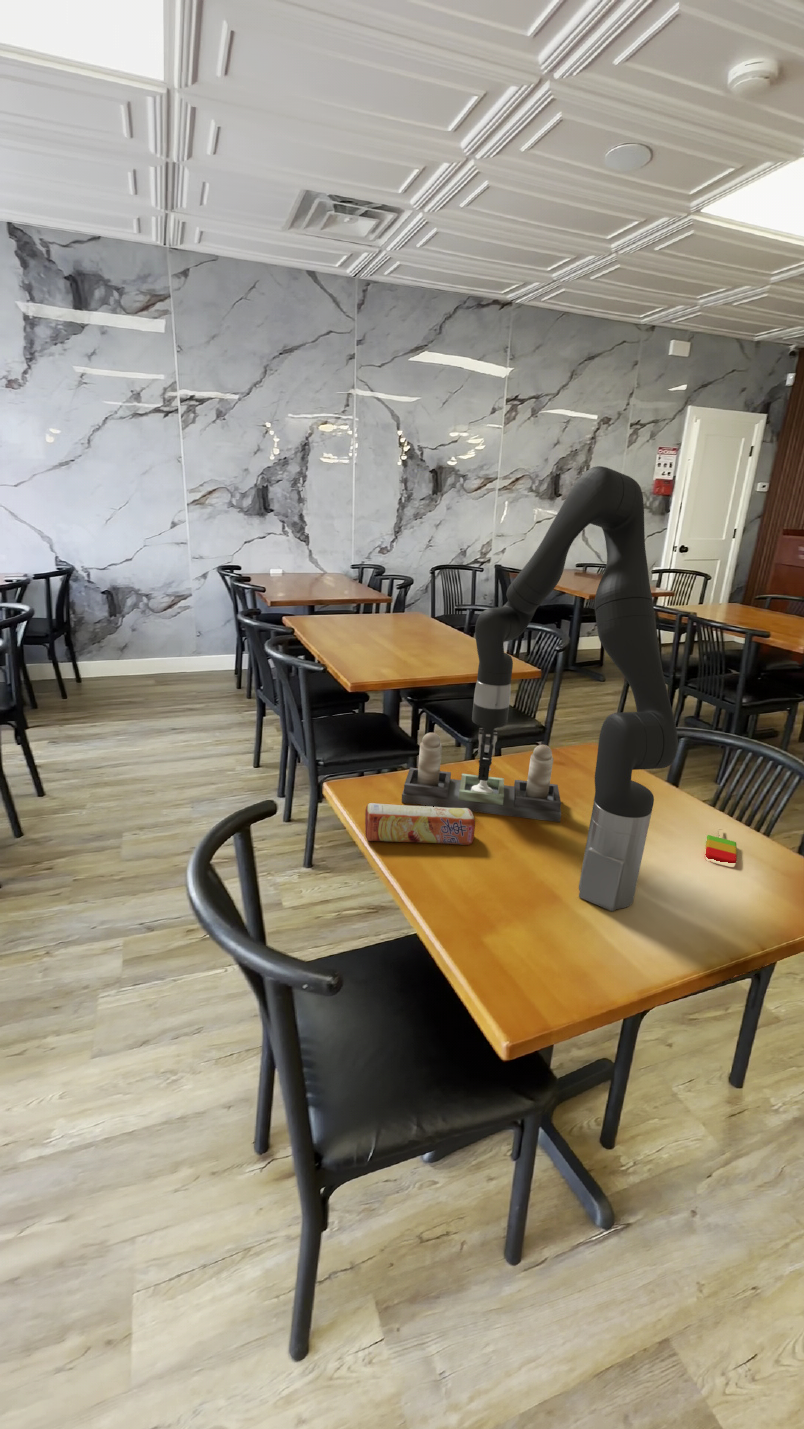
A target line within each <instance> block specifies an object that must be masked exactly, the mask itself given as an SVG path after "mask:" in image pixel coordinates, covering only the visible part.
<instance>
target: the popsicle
mask: <svg viewBox="0 0 804 1429" xmlns="http://www.w3.org/2000/svg"><path fill="white" fill-rule="evenodd" d="M719 830H722V829H718V831H719ZM719 836H720V835H719V834H718V836H714V835H710V834H707V835H706V838H707V841H706V840H705V849H706V854H704V856H705V855H706V857H707V858H708V859H714V860H716V861H720V862H728V863H736V864H737V862H736V861H737V854H738V853H737V850H738V849H737V841H734V840H730V839H726V838H724V839H723V838H719Z"/></svg>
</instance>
